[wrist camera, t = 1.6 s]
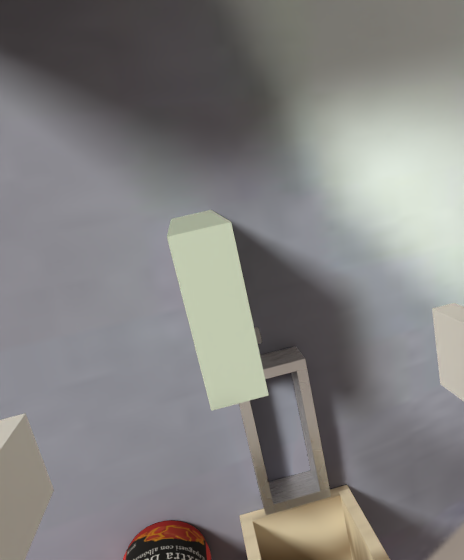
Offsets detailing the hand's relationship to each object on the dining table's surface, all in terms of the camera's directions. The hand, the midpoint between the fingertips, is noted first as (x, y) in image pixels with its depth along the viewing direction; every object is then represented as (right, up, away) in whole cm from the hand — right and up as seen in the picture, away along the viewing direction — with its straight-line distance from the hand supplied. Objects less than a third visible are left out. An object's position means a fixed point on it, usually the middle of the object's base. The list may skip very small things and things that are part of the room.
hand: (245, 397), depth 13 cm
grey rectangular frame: (+3, -8, +22) cm, 24 cm away
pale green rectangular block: (-2, +4, +18) cm, 19 cm away
